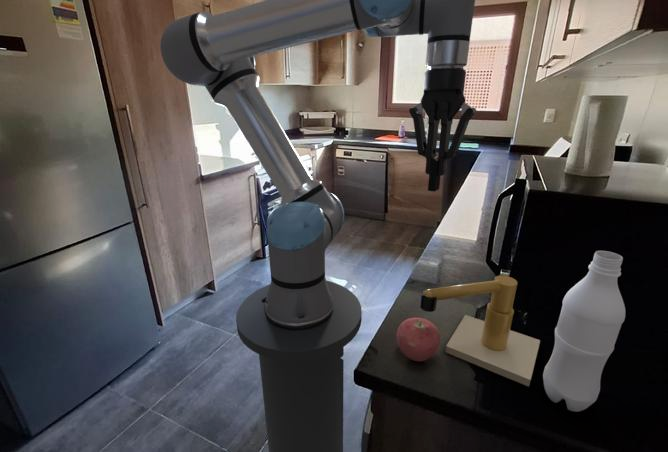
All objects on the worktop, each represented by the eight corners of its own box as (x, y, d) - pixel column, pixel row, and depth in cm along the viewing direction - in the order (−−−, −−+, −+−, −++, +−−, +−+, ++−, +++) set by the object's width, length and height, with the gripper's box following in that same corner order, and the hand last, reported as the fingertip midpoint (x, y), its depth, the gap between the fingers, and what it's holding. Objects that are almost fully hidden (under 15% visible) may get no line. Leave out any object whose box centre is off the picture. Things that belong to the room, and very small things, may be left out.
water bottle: (537, 374, 59) (572, 241, 50) (588, 388, 56) (634, 249, 47) (541, 406, 53) (581, 261, 44) (597, 424, 50) (652, 272, 41)
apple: (446, 361, 62) (451, 324, 59) (414, 376, 58) (418, 338, 56) (418, 337, 68) (421, 303, 65) (388, 350, 65) (390, 314, 62)
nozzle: (502, 300, 63) (507, 273, 61) (516, 311, 60) (522, 283, 58) (415, 312, 60) (417, 285, 58) (424, 325, 56) (427, 296, 54)
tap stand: (445, 352, 64) (450, 310, 61) (464, 320, 73) (470, 283, 70) (529, 387, 56) (540, 341, 53) (538, 346, 65) (549, 305, 62)
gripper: (486, 68, 64) (469, 190, 72) (420, 71, 71) (412, 182, 79) (475, 65, 58) (458, 198, 66) (405, 69, 65) (397, 189, 74)
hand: (433, 189), depth 73 cm, fingers closed
